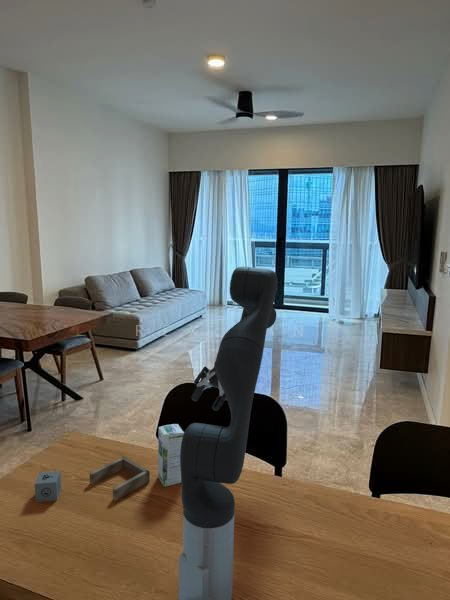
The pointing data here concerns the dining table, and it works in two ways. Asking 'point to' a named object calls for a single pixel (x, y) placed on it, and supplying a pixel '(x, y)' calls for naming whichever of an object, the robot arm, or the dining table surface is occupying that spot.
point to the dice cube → (48, 486)
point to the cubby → (127, 486)
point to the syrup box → (169, 454)
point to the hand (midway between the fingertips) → (203, 404)
